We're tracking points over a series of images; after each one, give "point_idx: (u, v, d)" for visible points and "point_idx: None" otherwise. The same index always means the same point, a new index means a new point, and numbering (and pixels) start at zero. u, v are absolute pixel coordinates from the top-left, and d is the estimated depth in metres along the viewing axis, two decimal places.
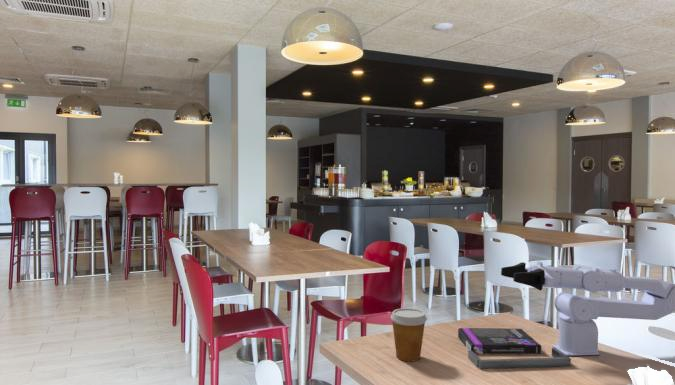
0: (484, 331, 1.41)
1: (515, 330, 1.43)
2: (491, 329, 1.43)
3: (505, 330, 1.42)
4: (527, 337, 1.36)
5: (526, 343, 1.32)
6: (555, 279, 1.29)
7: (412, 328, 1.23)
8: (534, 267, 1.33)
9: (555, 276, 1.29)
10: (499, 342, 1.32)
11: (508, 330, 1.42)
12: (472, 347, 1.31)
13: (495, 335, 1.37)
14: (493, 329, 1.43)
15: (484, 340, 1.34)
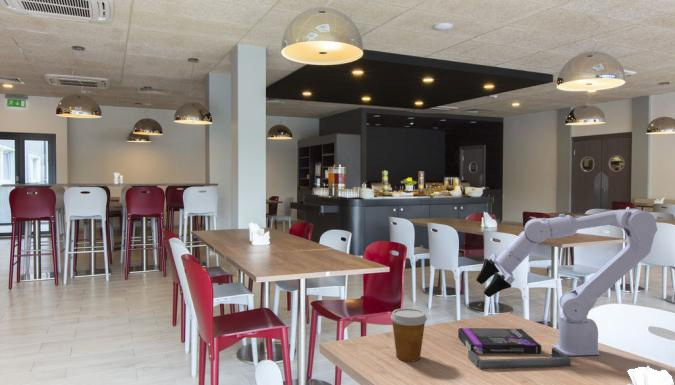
0: (484, 331, 1.41)
1: (515, 330, 1.43)
2: (491, 329, 1.43)
3: (505, 330, 1.42)
4: (527, 338, 1.36)
5: (526, 343, 1.32)
6: (514, 262, 1.36)
7: (412, 328, 1.23)
8: None
9: (512, 261, 1.36)
10: (499, 342, 1.32)
11: (508, 330, 1.42)
12: (472, 347, 1.31)
13: (495, 335, 1.37)
14: (493, 329, 1.43)
15: (484, 340, 1.34)
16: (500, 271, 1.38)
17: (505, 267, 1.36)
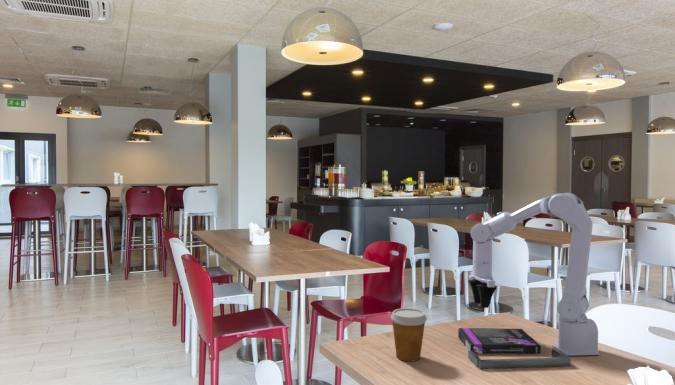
0: (484, 331, 1.41)
1: (515, 330, 1.42)
2: (491, 329, 1.43)
3: (505, 330, 1.42)
4: (527, 338, 1.36)
5: (526, 343, 1.32)
6: (486, 267, 1.46)
7: (412, 328, 1.23)
8: None
9: (483, 268, 1.46)
10: (498, 342, 1.32)
11: (508, 330, 1.42)
12: (471, 347, 1.31)
13: (495, 335, 1.37)
14: (493, 329, 1.43)
15: (484, 340, 1.34)
16: (482, 282, 1.48)
17: (482, 276, 1.46)
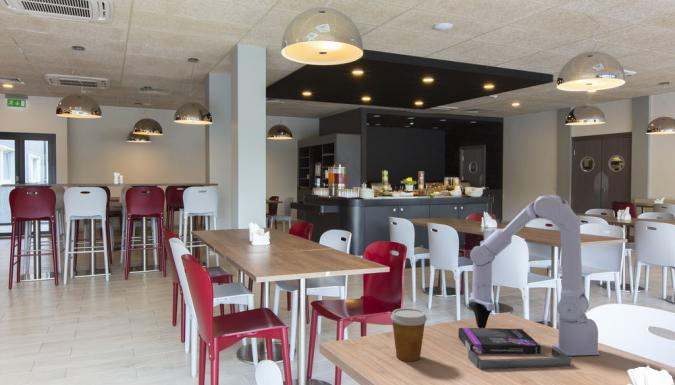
0: (484, 331, 1.41)
1: (516, 330, 1.42)
2: (491, 329, 1.43)
3: (505, 330, 1.42)
4: (527, 338, 1.36)
5: (526, 343, 1.31)
6: (486, 290, 1.46)
7: (412, 328, 1.23)
8: None
9: (483, 291, 1.46)
10: (498, 342, 1.32)
11: (508, 330, 1.42)
12: (471, 347, 1.31)
13: (495, 335, 1.37)
14: (493, 329, 1.43)
15: (483, 340, 1.34)
16: (482, 304, 1.48)
17: (482, 299, 1.46)
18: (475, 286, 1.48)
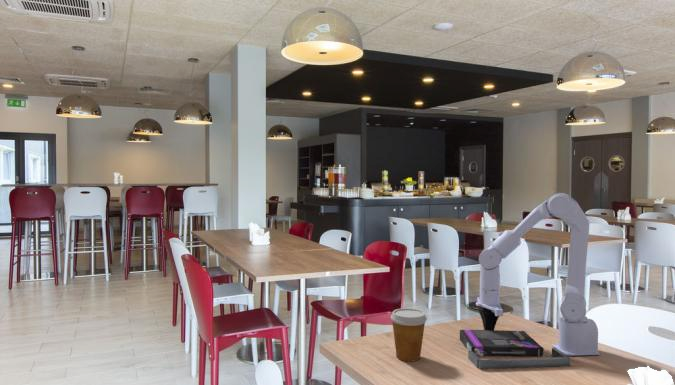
0: (486, 333, 1.40)
1: (518, 332, 1.40)
2: (493, 331, 1.41)
3: (507, 332, 1.40)
4: (529, 340, 1.34)
5: (528, 345, 1.30)
6: (494, 295, 1.40)
7: (412, 328, 1.23)
8: None
9: (491, 295, 1.40)
10: (500, 344, 1.30)
11: (510, 332, 1.40)
12: (472, 349, 1.29)
13: (497, 337, 1.35)
14: (495, 331, 1.41)
15: (485, 342, 1.32)
16: (490, 309, 1.42)
17: (490, 304, 1.41)
18: (482, 290, 1.42)
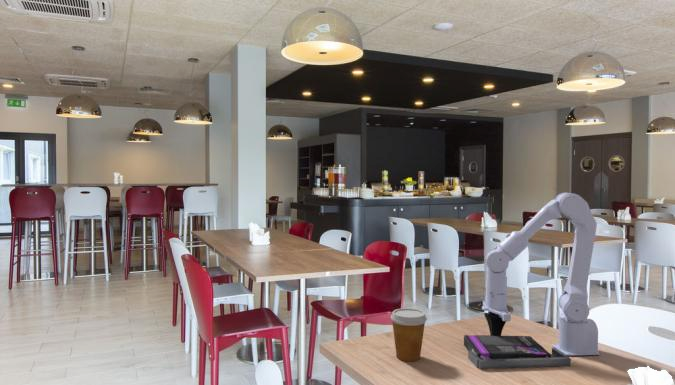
0: (491, 338, 1.35)
1: (524, 338, 1.36)
2: (498, 336, 1.36)
3: (513, 338, 1.35)
4: (536, 346, 1.29)
5: (535, 352, 1.25)
6: (501, 299, 1.36)
7: (412, 328, 1.23)
8: None
9: (498, 299, 1.36)
10: (507, 351, 1.25)
11: (516, 338, 1.36)
12: (478, 356, 1.24)
13: (503, 343, 1.31)
14: (500, 336, 1.36)
15: (491, 348, 1.27)
16: (496, 314, 1.38)
17: (497, 308, 1.36)
18: (489, 294, 1.37)
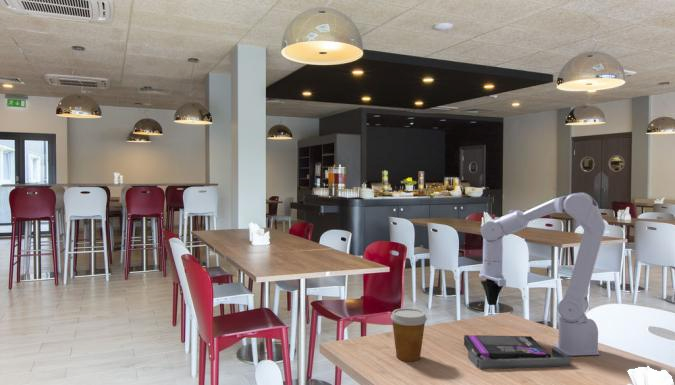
0: (491, 338, 1.35)
1: (524, 338, 1.36)
2: (499, 336, 1.36)
3: (513, 338, 1.35)
4: (536, 346, 1.29)
5: (535, 352, 1.25)
6: (496, 266, 1.43)
7: (412, 328, 1.23)
8: None
9: (494, 266, 1.43)
10: (507, 351, 1.25)
11: (517, 338, 1.36)
12: (478, 356, 1.24)
13: (503, 344, 1.31)
14: (501, 336, 1.36)
15: (491, 348, 1.27)
16: None
17: (493, 275, 1.43)
18: (485, 262, 1.45)
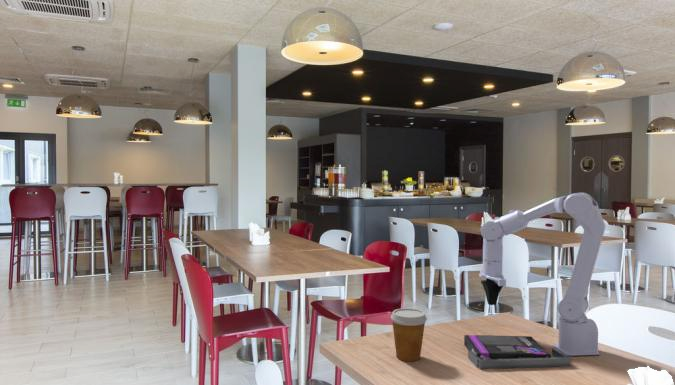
0: (491, 338, 1.35)
1: (524, 338, 1.36)
2: (499, 336, 1.36)
3: (514, 338, 1.35)
4: (537, 346, 1.29)
5: (535, 352, 1.25)
6: (496, 266, 1.43)
7: (412, 328, 1.23)
8: None
9: (494, 266, 1.43)
10: (507, 351, 1.25)
11: (517, 338, 1.36)
12: (478, 356, 1.24)
13: (503, 343, 1.31)
14: (501, 336, 1.36)
15: (491, 348, 1.27)
16: None
17: (493, 275, 1.43)
18: (486, 262, 1.45)
